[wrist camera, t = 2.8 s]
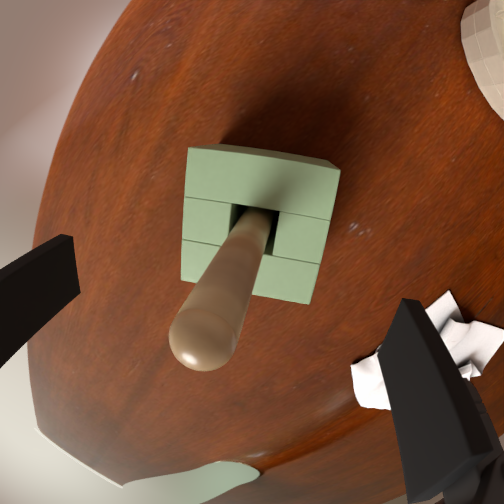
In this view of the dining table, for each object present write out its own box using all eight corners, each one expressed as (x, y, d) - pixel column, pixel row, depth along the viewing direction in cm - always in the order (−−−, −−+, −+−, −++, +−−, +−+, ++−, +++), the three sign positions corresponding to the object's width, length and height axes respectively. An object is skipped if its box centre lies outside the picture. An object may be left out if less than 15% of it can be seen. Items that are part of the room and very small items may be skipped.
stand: (218, 143, 22) (188, 147, 16) (327, 160, 22) (341, 170, 15) (208, 243, 26) (180, 280, 19) (307, 261, 25) (309, 304, 19)
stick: (254, 189, 23) (155, 322, 7) (278, 193, 23) (233, 341, 7) (251, 213, 24) (160, 374, 8) (275, 217, 24) (226, 391, 8)
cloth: (324, 365, 29) (324, 381, 27) (492, 254, 22) (504, 264, 19) (389, 433, 34) (391, 446, 31) (511, 359, 26) (518, 369, 24)
